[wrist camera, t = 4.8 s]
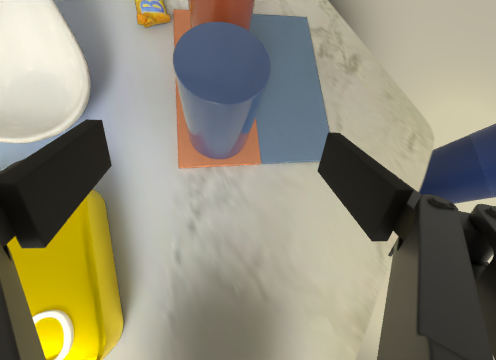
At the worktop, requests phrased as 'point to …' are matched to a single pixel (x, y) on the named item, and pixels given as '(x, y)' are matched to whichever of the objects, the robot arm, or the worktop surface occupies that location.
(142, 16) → the candy bar
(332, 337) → the worktop surface
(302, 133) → the mat
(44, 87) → the spoon rest
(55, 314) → the element tile
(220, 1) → the orange cylinder
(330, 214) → the worktop surface
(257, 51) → the navy blue cylinder
